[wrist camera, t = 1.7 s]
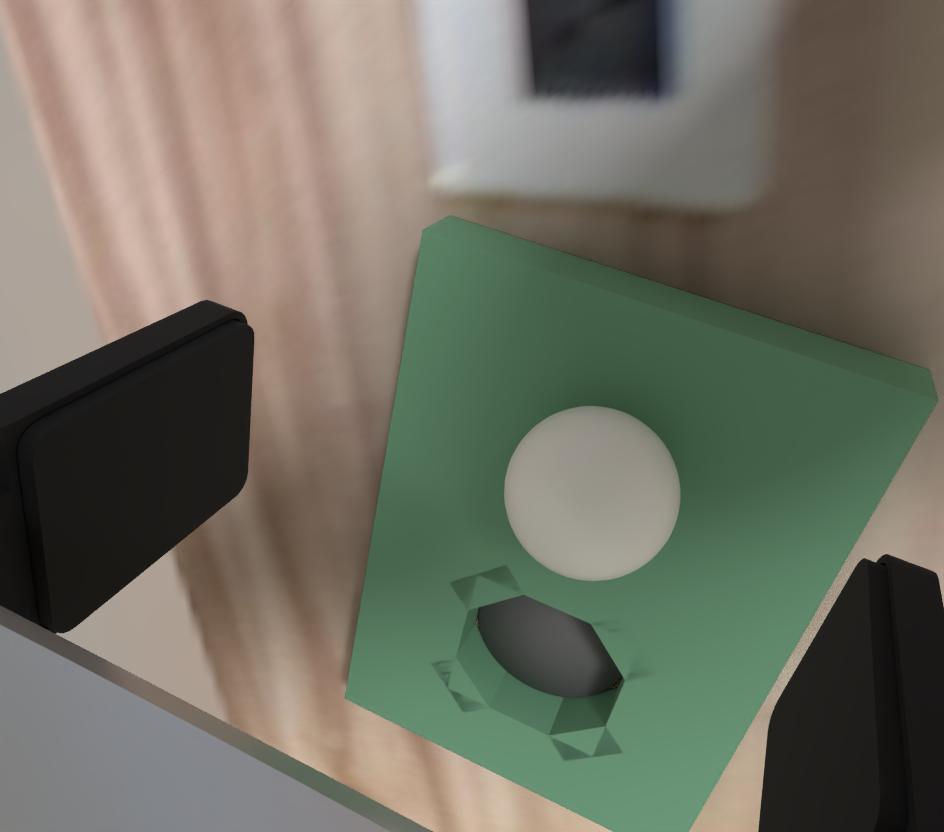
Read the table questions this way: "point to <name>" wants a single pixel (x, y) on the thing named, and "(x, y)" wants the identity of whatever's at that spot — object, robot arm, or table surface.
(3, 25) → the table surface
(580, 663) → the mat
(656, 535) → the ball
